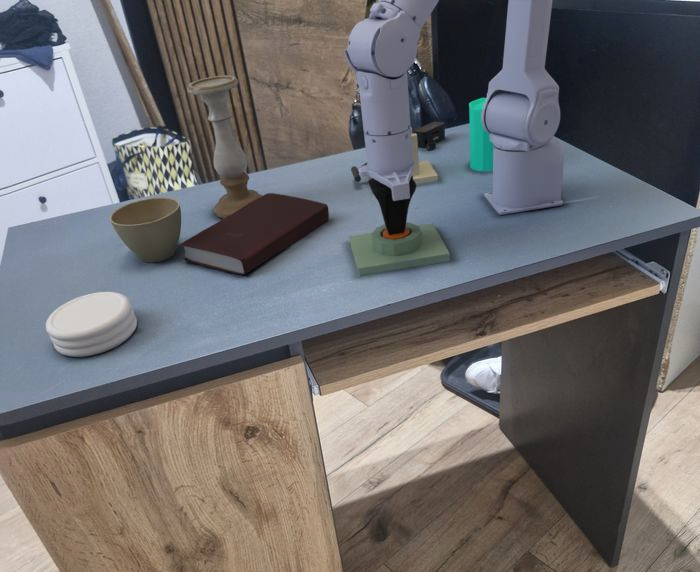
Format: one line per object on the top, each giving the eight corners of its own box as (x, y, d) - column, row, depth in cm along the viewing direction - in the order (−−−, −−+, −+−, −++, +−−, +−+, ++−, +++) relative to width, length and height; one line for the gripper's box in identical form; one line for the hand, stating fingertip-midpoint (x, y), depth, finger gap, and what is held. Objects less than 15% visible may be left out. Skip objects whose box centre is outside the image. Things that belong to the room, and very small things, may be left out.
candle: (465, 163, 112) (464, 91, 105) (499, 158, 112) (500, 86, 105) (474, 174, 107) (474, 100, 100) (510, 169, 107) (511, 94, 100)
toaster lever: (358, 186, 107) (351, 175, 105) (355, 176, 111) (347, 165, 109) (415, 149, 104) (408, 137, 103) (409, 140, 108) (402, 128, 107)
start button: (407, 236, 88) (406, 224, 87) (412, 247, 85) (412, 235, 84) (381, 240, 88) (380, 228, 87) (386, 251, 85) (385, 239, 84)
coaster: (58, 369, 73) (46, 344, 71) (52, 330, 81) (41, 306, 79) (144, 340, 76) (135, 315, 74) (131, 305, 84) (122, 281, 82)
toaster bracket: (379, 191, 106) (374, 144, 102) (372, 175, 113) (367, 130, 108) (438, 182, 106) (436, 134, 102) (427, 166, 113) (425, 121, 108)
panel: (433, 230, 91) (432, 210, 90) (450, 261, 83) (449, 240, 81) (350, 244, 91) (347, 224, 89) (359, 276, 83) (356, 255, 81)
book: (331, 221, 98) (328, 201, 96) (246, 278, 86) (241, 256, 84) (270, 210, 105) (266, 191, 103) (183, 262, 93) (177, 241, 91)
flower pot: (133, 278, 90) (116, 231, 86) (120, 253, 98) (104, 209, 94) (200, 256, 94) (187, 210, 90) (182, 234, 101) (169, 191, 97)
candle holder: (234, 197, 112) (205, 74, 100) (276, 200, 108) (252, 73, 97) (205, 218, 106) (170, 89, 94) (249, 221, 102) (219, 88, 91)
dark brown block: (411, 149, 122) (410, 132, 120) (435, 138, 125) (434, 121, 123) (430, 152, 119) (429, 135, 117) (454, 141, 122) (453, 124, 121)
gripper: (347, 118, 83) (359, 215, 91) (362, 152, 71) (374, 260, 79) (401, 110, 84) (408, 208, 91) (424, 142, 72) (430, 251, 79)
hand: (395, 232), depth 85 cm, fingers closed, pressing on start button
